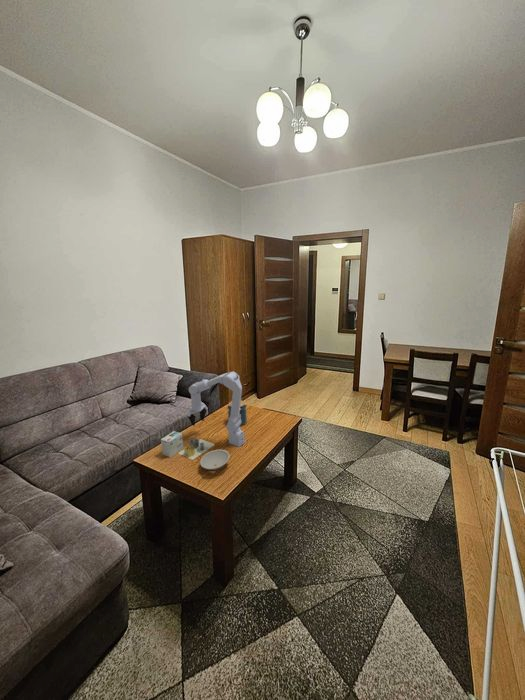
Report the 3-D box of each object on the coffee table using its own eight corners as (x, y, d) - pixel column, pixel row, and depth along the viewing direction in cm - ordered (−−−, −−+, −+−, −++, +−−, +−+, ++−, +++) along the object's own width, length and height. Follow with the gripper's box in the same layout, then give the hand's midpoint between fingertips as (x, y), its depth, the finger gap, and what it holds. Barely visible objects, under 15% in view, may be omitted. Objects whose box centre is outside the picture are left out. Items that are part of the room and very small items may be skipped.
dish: (213, 454, 165) (212, 447, 164) (235, 460, 159) (235, 452, 158) (194, 473, 149) (193, 464, 148) (218, 480, 144) (217, 471, 143)
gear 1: (200, 444, 174) (200, 438, 174) (197, 449, 169) (196, 443, 168) (191, 443, 175) (191, 438, 175) (187, 448, 170) (187, 443, 169)
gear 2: (197, 452, 166) (196, 447, 165) (189, 457, 161) (189, 452, 160) (190, 449, 169) (189, 444, 168) (182, 454, 164) (182, 449, 163)
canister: (243, 427, 195) (242, 403, 191) (225, 425, 199) (224, 401, 195) (249, 419, 207) (248, 396, 203) (232, 417, 211) (231, 394, 207)
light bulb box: (175, 446, 174) (173, 430, 172) (184, 449, 171) (182, 432, 169) (161, 456, 165) (160, 438, 163) (170, 459, 162) (168, 441, 159)
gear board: (215, 446, 174) (215, 438, 173) (193, 461, 159) (193, 453, 158) (200, 440, 181) (200, 433, 179) (177, 454, 166) (177, 446, 165)
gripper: (200, 397, 187) (201, 416, 191) (182, 405, 176) (184, 425, 179) (208, 399, 184) (209, 419, 187) (190, 407, 172) (192, 428, 175)
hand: (197, 422), depth 182 cm, fingers open, 7 cm apart
